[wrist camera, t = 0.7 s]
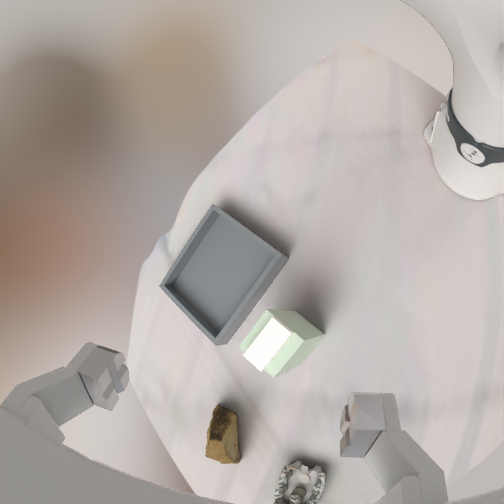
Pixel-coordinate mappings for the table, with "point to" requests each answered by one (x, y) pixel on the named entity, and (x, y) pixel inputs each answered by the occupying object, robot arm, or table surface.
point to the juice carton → (280, 341)
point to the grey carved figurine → (302, 478)
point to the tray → (221, 274)
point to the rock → (223, 437)
